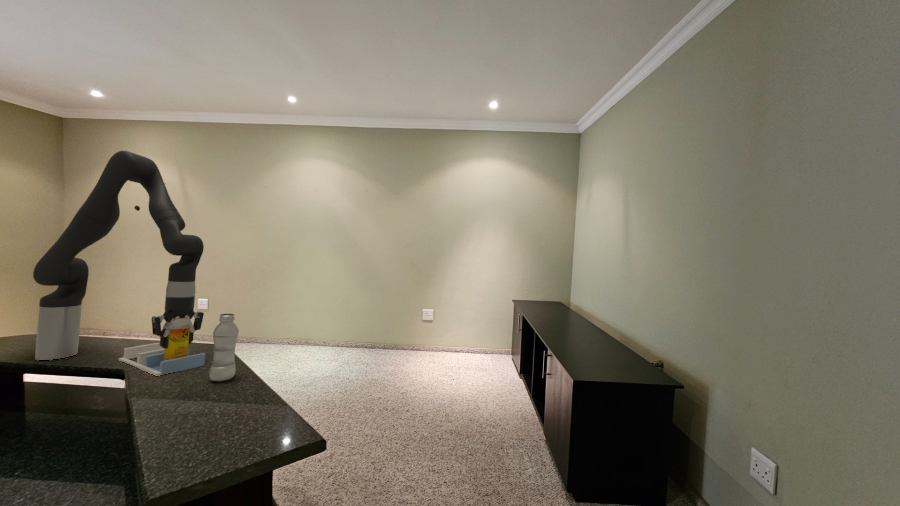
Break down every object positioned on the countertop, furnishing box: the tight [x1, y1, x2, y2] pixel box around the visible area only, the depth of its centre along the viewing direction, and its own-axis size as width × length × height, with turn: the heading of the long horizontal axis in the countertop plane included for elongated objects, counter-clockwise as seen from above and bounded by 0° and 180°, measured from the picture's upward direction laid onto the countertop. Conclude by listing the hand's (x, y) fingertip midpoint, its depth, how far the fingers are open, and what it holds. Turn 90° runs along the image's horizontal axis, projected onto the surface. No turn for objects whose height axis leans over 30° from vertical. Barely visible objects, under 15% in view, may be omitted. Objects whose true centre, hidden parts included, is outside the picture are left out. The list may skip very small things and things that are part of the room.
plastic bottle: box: [208, 312, 240, 382], centre depth 101 cm, size 6×7×20 cm
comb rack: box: [118, 342, 206, 377], centre depth 111 cm, size 24×13×4 cm, turn 65°
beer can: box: [163, 317, 190, 361], centre depth 109 cm, size 6×6×15 cm
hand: (176, 345), depth 109 cm, fingers closed on beer can, 6 cm apart
